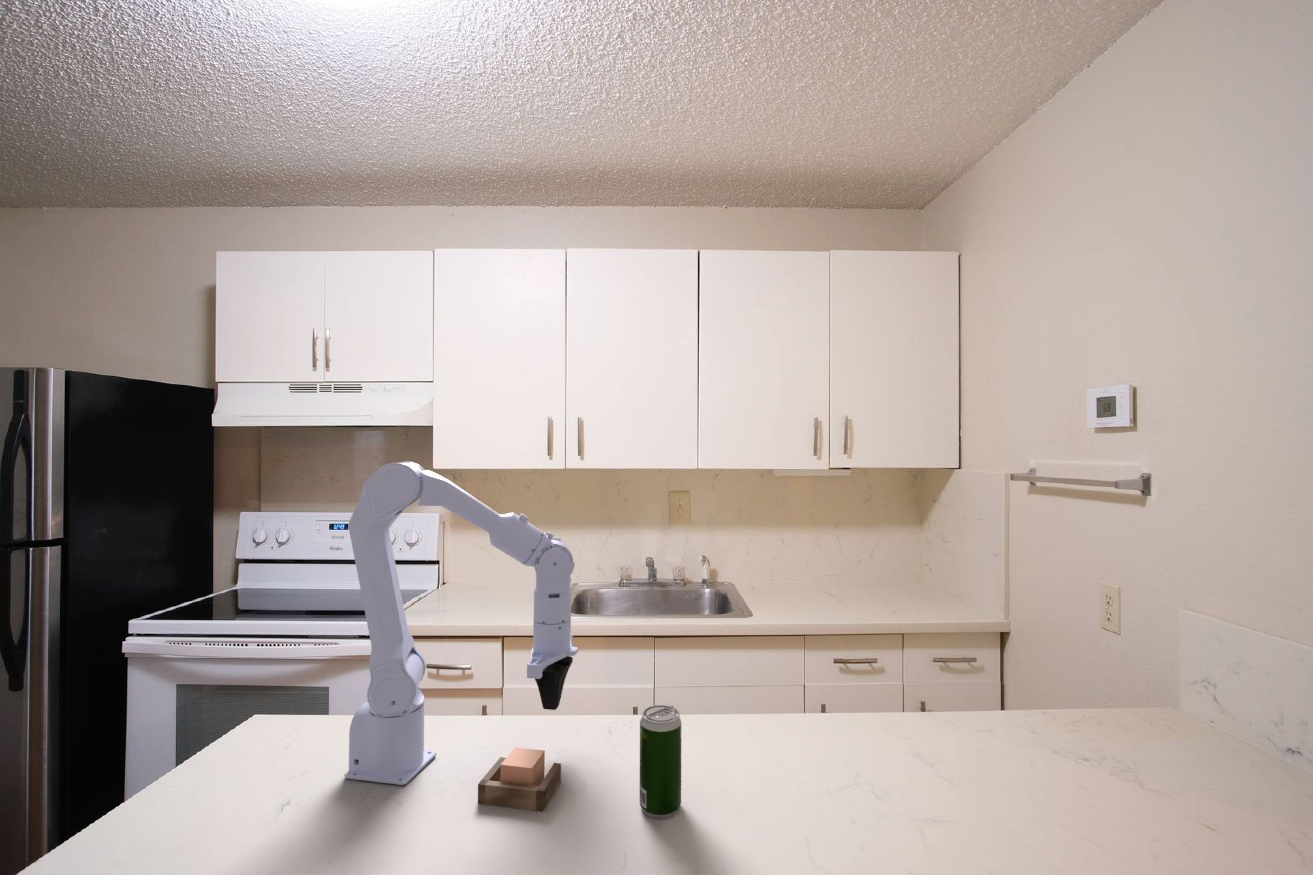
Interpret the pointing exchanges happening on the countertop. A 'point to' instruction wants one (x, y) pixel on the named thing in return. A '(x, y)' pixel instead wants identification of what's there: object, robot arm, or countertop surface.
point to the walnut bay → (518, 790)
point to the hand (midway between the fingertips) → (550, 707)
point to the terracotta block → (524, 767)
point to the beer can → (660, 761)
